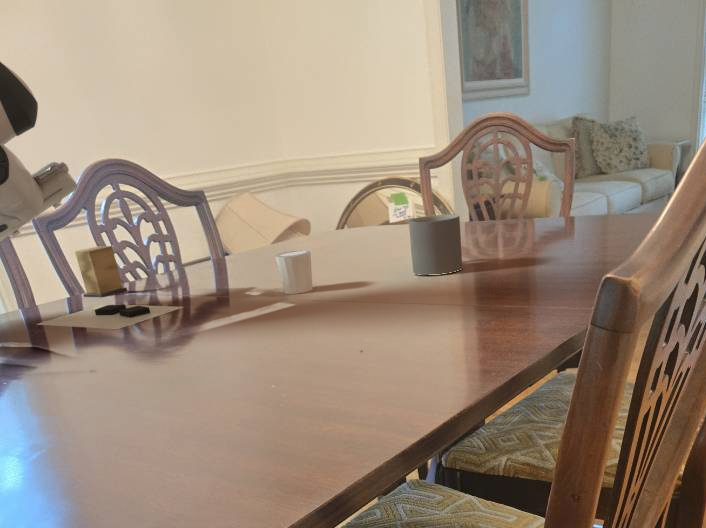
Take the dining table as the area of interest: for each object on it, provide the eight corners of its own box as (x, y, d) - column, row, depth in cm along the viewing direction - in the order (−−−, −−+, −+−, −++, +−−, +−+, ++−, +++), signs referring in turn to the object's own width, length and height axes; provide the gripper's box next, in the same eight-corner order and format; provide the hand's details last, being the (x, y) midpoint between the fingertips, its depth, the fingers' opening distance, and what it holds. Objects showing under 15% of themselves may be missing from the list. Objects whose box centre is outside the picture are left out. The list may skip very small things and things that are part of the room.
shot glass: (274, 294, 149) (268, 257, 146) (291, 287, 155) (286, 250, 151) (305, 294, 147) (299, 256, 143) (321, 286, 152) (316, 249, 149)
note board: (37, 329, 141) (35, 324, 141) (105, 309, 153) (104, 304, 153) (119, 334, 131) (117, 328, 130) (185, 312, 143) (184, 306, 142)
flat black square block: (120, 315, 140) (118, 310, 140) (140, 310, 143) (138, 305, 142) (130, 317, 138) (129, 312, 137) (150, 312, 140) (149, 307, 140)
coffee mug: (461, 273, 150) (458, 218, 146) (411, 277, 151) (406, 223, 147) (463, 262, 162) (460, 210, 157) (416, 266, 163) (412, 215, 158)
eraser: (85, 301, 163) (70, 251, 158) (110, 294, 168) (97, 245, 164) (102, 302, 160) (89, 251, 156) (128, 294, 166) (115, 245, 161)
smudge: (95, 315, 143) (94, 309, 142) (109, 310, 146) (108, 304, 146) (113, 315, 142) (111, 309, 141) (126, 309, 145) (125, 304, 144)
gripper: (51, 144, 134) (69, 172, 147) (-48, 210, 132) (-21, 233, 145) (75, 176, 135) (91, 201, 149) (-22, 242, 133) (2, 261, 147)
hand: (35, 217), depth 147 cm, fingers open, 8 cm apart
